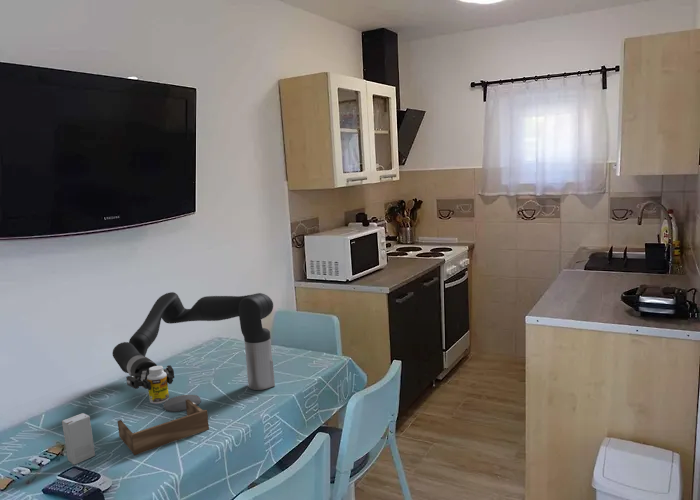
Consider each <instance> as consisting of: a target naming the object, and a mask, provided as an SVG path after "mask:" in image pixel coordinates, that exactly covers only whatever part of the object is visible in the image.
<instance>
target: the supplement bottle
mask: <svg viewBox="0 0 700 500" xmlns="http://www.w3.org/2000/svg"><path fill="white" fill-rule="evenodd" d="M163 369H164V367H163V365H157V366H153V367H151V368H149V375H148V376H147V380H148V381H149V382H150V383H151V390H148V389H147V390H148V399H149V402H150V403H151V404H157V405H158V404H162V403H163V404H164V403H165V402H166V401H167V400H169V399H170V396H169V386H168V384H169V383H167V374H166V373H165V372H164V371H163Z"/></svg>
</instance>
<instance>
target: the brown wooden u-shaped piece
mask: <svg viewBox="0 0 700 500" xmlns="http://www.w3.org/2000/svg"><path fill="white" fill-rule="evenodd" d="M208 414H209V413H208V409H202V408H201V407H199V405H198V406H197V405H195V404H194V403H193V402H192V401H190V400H189V399H187V400H186V415H185V416H182V417H179V418H175V419H173V420H169V421H166V422H163V423H160V424H157V425H154V426H151V427H148V428H145V429H142V430H139V431H136V432H132V431H131V429H130V428H129V427H128V426H127V425H126V424H125V422H123V420H122V419H119V420H117V421H116V422H117V428H118V436H119V438H120V439H121V441H122V442H123V443H124V445H126V447H127V448H128V449H129V450H130V451H131V452H132V454H133V455H134V456H137V455H139V454H140V455H141V454H143V453H145V452H148V451H151V450H153V449H154V450H155V449H157V448H159V447H162V446H165V445H167V444H168V445H169V444H171V443H174V442H177V441H179V440H183V439H186V438H188V437H191V436H193V435H197V434H199V433H202V432H206V431H208V430H210V427H209V426H210V425H209V416H208Z"/></svg>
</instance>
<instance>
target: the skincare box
mask: <svg viewBox="0 0 700 500" xmlns="http://www.w3.org/2000/svg"><path fill="white" fill-rule="evenodd" d="M61 424H62V430H63V437H64V443H65V449H66V456H67V461H68V462H70V463H71V464H72V465H77V464H80V463H82V462H84V461H86V460H88V459H91V458H93V457H95V456H96V450H95V443H94V438H93V437H94V436H93V430H92V424H91V417H90V415H88V414H86V413H84V412H82V413H80V414H77V415H74V416H71V417H69V418H66V419H63V420H61Z"/></svg>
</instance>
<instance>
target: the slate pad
mask: <svg viewBox="0 0 700 500" xmlns="http://www.w3.org/2000/svg"><path fill="white" fill-rule="evenodd" d="M187 399H189V400H190V401H192V402H193V403H194V404H195V405H197V406H198V407H199V405H200V404H201V397H200V396H199V395H195V394H183V395H182V394H181V395H177V396H174V397H171V398H169V399H168V400H167V401H165V402H163V409H164V410H165V411H166V412H171V413H177V412H185V411H186V412H187V410H186V400H187Z"/></svg>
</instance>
